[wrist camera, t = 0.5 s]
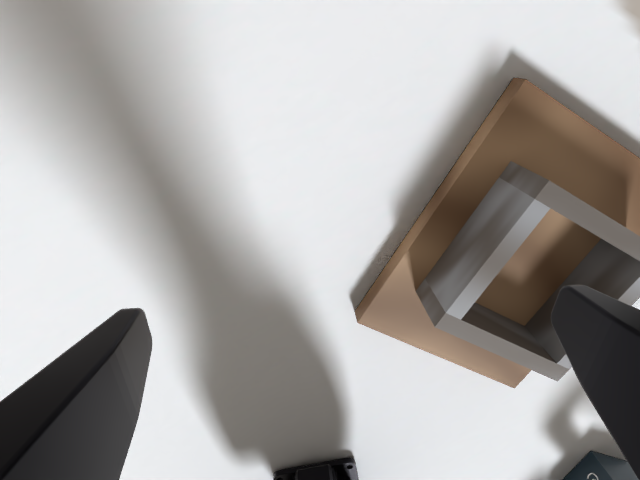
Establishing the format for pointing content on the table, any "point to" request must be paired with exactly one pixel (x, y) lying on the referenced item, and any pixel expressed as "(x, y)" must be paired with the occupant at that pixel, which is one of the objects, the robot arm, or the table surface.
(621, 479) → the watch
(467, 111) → the table surface
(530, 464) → the table surface
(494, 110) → the end holder
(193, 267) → the table surface
